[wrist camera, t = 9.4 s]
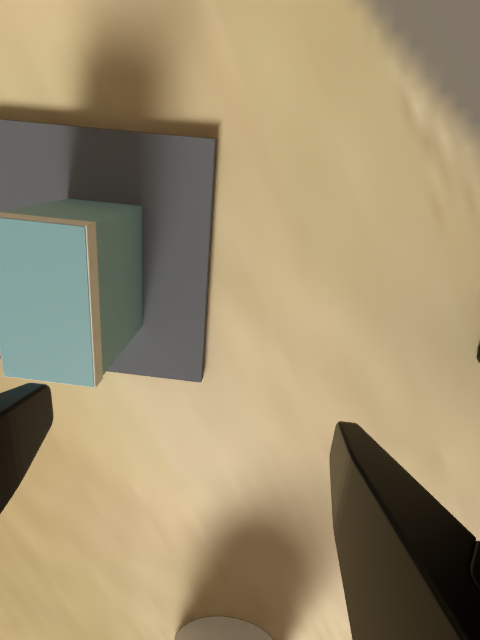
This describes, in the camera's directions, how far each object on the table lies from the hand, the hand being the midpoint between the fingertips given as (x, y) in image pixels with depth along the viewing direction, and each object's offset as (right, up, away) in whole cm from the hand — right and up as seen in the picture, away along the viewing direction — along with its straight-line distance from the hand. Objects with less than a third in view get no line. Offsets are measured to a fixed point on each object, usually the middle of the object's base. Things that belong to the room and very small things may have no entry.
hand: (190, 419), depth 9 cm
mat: (-8, +5, +11) cm, 15 cm away
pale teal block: (-5, +5, +11) cm, 13 cm away
